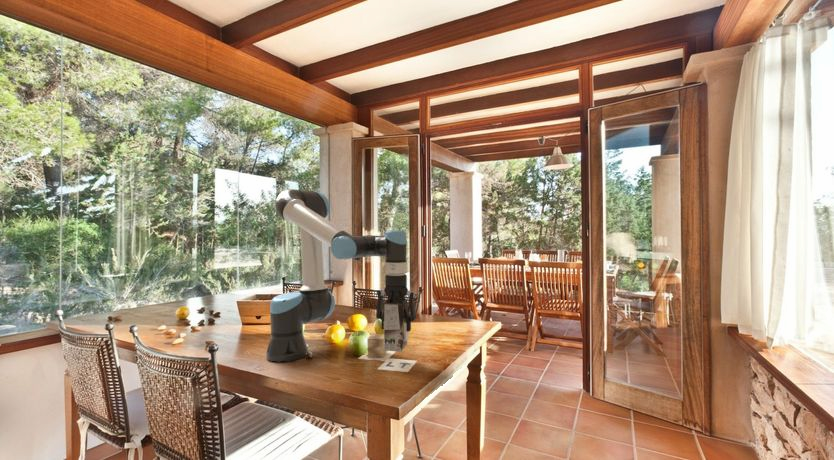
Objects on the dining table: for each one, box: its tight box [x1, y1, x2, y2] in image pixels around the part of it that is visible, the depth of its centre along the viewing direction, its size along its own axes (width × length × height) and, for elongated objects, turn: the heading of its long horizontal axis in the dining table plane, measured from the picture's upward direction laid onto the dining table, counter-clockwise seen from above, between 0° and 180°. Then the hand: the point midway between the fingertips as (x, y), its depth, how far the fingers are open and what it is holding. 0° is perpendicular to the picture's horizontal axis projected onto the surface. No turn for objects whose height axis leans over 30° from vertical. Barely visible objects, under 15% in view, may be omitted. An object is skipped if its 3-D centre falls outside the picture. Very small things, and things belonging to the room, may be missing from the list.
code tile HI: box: [357, 351, 397, 362], centre depth 141 cm, size 11×11×1 cm
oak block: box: [366, 333, 387, 358], centre depth 141 cm, size 6×6×7 cm
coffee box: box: [383, 299, 408, 353], centre depth 130 cm, size 9×6×16 cm
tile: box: [377, 357, 418, 373], centre depth 130 cm, size 11×11×1 cm
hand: (396, 339), depth 130 cm, fingers closed on coffee box, 7 cm apart
